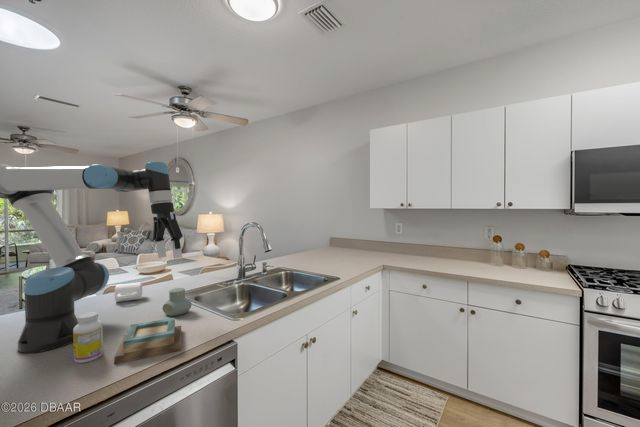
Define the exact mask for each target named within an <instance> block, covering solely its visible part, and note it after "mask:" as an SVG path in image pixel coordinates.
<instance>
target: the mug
mask: <svg viewBox="0 0 640 427" xmlns="http://www.w3.org/2000/svg"><path fill="white" fill-rule="evenodd" d="M142 297H143V283H142V282H132V283H122V284H116V285H115V288H114V301H115V303H122V302H129V301H136V300H142Z"/></svg>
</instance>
